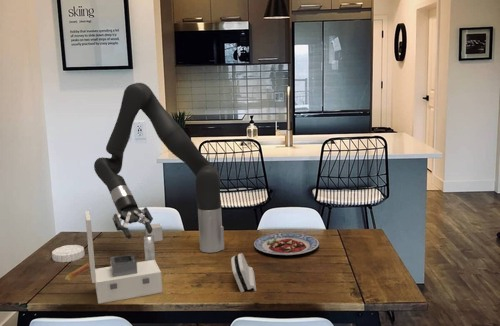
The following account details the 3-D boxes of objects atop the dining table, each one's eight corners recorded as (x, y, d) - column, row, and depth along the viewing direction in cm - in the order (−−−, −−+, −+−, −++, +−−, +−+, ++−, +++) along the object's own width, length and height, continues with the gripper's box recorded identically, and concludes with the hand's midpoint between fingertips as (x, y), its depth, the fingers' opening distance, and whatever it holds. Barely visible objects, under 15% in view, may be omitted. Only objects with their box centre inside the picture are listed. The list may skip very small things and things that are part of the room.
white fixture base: (155, 278, 174) (150, 203, 169) (162, 293, 162) (157, 212, 158) (91, 289, 167) (84, 210, 162) (94, 305, 155) (86, 220, 151)
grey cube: (159, 236, 221) (159, 223, 220) (162, 240, 215) (161, 226, 214) (146, 238, 219) (145, 225, 218) (148, 242, 213) (147, 228, 212)
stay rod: (154, 265, 187) (152, 234, 184) (156, 268, 183) (154, 237, 181) (144, 267, 185) (142, 235, 183) (146, 270, 182) (144, 238, 180)
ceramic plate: (332, 249, 198) (332, 242, 198) (280, 264, 184) (280, 257, 184) (291, 233, 219) (291, 227, 219) (241, 246, 205) (241, 239, 205)
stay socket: (134, 265, 168) (133, 253, 168) (137, 273, 161) (136, 261, 161) (110, 268, 166) (109, 257, 165) (112, 277, 159) (112, 265, 158)
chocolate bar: (64, 280, 176) (63, 274, 176) (85, 268, 188) (84, 262, 187) (70, 281, 176) (70, 275, 175) (91, 268, 187) (90, 263, 186)
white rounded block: (256, 291, 161) (244, 264, 160) (242, 296, 162) (231, 269, 160) (254, 271, 178) (243, 246, 176) (241, 276, 178) (231, 251, 176)
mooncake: (53, 254, 203) (52, 246, 202) (84, 250, 206) (83, 242, 206) (51, 264, 192) (50, 255, 191) (84, 260, 195) (83, 251, 195)
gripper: (108, 197, 186) (125, 234, 180) (143, 191, 195) (160, 225, 189) (103, 209, 191) (120, 244, 185) (137, 202, 200) (154, 236, 194)
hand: (140, 235), depth 187 cm, fingers open, 8 cm apart
